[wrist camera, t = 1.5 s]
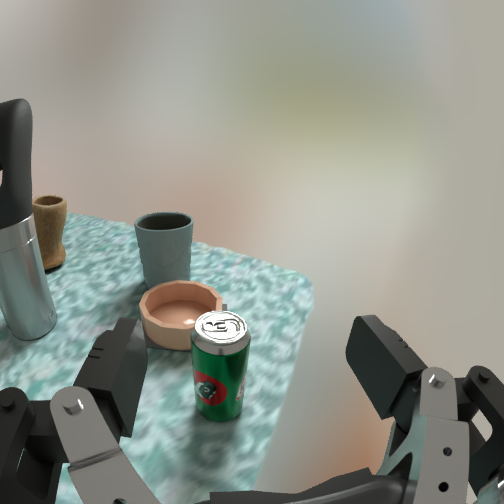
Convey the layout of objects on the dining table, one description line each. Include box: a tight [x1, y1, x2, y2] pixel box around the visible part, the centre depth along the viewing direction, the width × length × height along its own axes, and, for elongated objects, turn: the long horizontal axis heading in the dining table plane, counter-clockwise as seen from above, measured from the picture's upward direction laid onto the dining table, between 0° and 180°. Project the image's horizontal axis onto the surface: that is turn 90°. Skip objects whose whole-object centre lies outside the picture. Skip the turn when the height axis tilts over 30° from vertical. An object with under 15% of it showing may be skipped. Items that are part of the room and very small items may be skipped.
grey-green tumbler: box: [134, 212, 194, 289], centre depth 47 cm, size 10×10×12 cm
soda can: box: [190, 311, 251, 422], centre depth 24 cm, size 5×5×12 cm
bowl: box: [139, 280, 223, 350], centre depth 38 cm, size 12×12×4 cm
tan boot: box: [32, 195, 67, 270], centre depth 48 cm, size 15×12×15 cm
